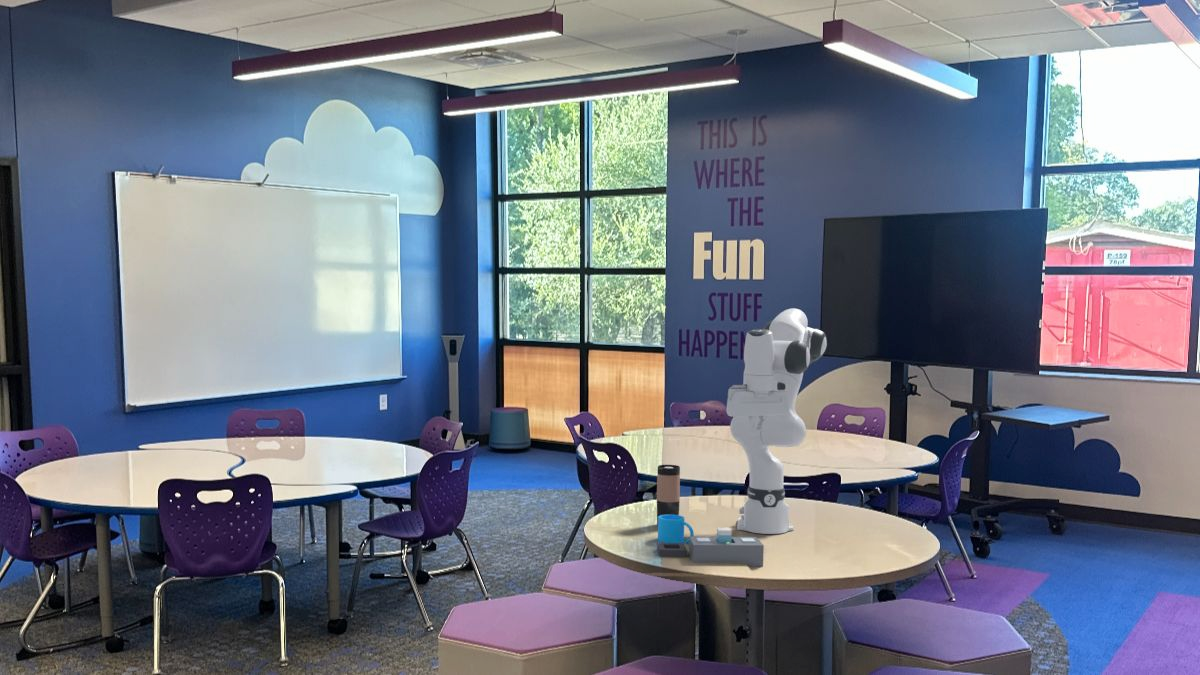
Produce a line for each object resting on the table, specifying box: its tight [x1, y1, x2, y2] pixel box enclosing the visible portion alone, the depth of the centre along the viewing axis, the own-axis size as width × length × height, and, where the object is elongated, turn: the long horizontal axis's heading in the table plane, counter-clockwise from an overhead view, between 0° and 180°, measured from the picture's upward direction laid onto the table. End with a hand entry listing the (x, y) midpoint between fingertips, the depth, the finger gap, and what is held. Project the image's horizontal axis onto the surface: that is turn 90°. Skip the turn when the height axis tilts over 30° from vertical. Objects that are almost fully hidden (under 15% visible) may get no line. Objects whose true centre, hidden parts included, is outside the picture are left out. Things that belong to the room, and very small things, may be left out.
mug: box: [657, 514, 694, 544], centre depth 299 cm, size 12×8×8 cm
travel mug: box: [656, 464, 681, 527], centre depth 324 cm, size 8×8×20 cm
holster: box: [656, 542, 688, 558], centre depth 284 cm, size 8×8×3 cm
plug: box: [716, 527, 733, 543], centre depth 279 cm, size 4×4×8 cm
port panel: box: [688, 535, 764, 567], centre depth 280 cm, size 10×20×6 cm, turn 92°
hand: (757, 431), depth 286 cm, fingers closed
